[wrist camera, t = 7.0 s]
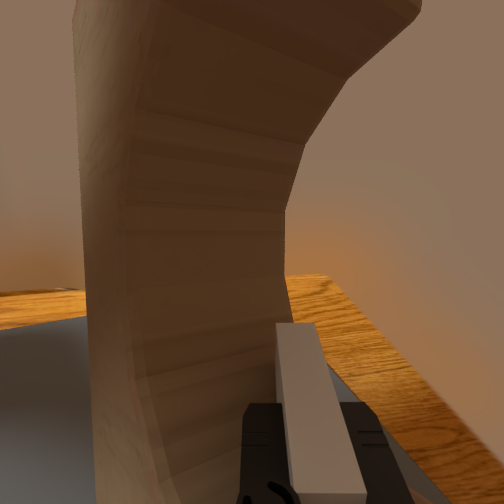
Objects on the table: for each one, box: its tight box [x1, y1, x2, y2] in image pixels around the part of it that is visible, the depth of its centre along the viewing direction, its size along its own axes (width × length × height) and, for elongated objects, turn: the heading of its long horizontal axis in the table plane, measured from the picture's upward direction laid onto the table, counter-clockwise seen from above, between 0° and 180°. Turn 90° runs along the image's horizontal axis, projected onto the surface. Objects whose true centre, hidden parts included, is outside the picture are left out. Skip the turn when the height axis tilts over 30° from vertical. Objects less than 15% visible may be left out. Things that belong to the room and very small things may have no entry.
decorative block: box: [72, 0, 434, 504], centre depth 14 cm, size 15×8×30 cm, turn 39°
